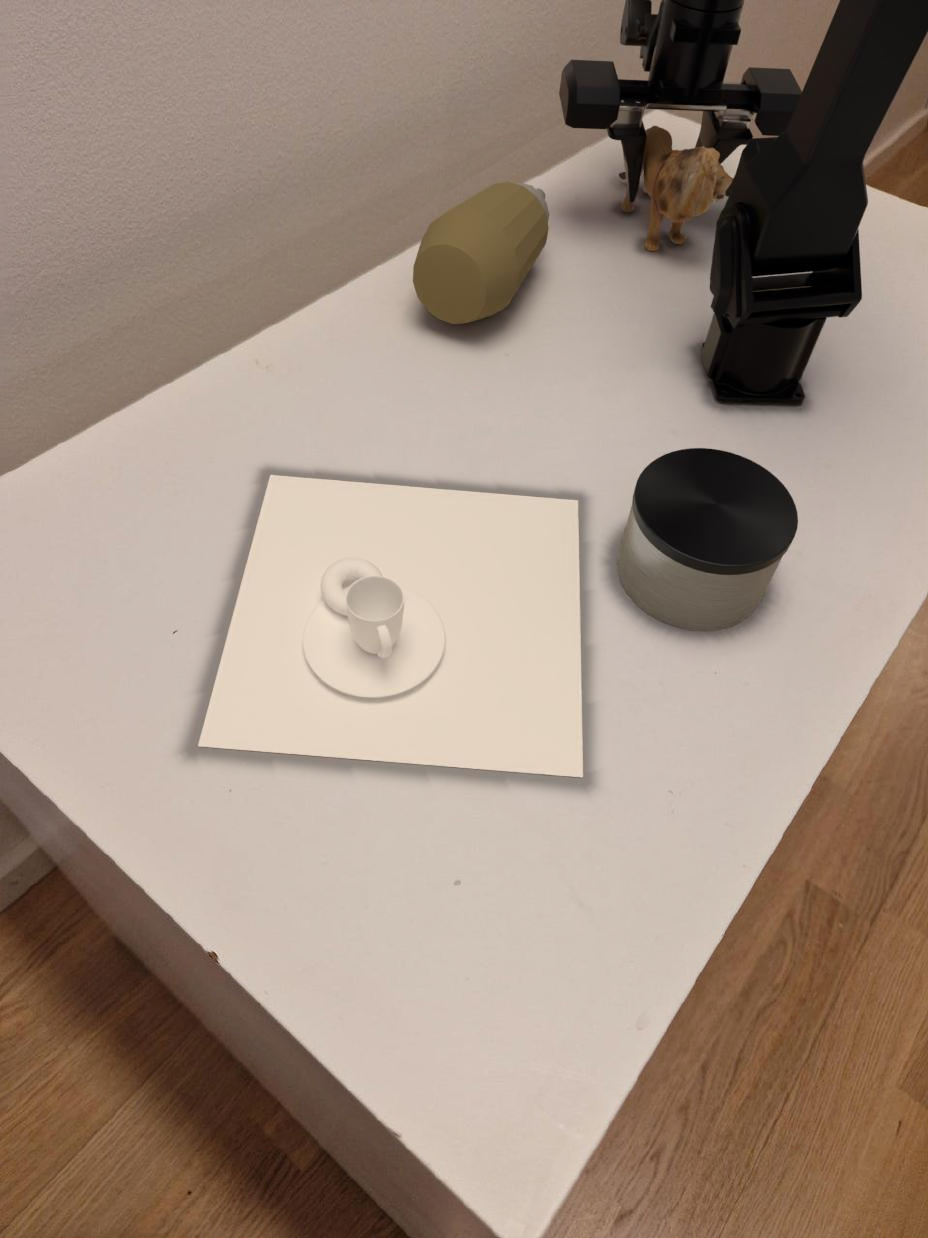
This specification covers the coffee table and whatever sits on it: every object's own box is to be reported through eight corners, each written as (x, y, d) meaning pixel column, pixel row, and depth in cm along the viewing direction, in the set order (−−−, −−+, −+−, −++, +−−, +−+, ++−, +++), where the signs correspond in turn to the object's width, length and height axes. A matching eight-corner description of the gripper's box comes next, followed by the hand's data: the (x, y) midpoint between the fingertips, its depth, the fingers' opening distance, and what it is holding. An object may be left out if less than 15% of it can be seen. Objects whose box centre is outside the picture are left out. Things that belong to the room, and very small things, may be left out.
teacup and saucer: (317, 571, 55) (312, 525, 52) (450, 582, 55) (453, 536, 52) (292, 696, 50) (284, 652, 47) (439, 708, 50) (442, 665, 47)
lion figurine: (721, 264, 77) (750, 157, 70) (664, 275, 76) (688, 167, 69) (643, 177, 86) (662, 72, 78) (590, 185, 84) (605, 80, 77)
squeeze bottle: (481, 358, 69) (564, 260, 81) (514, 263, 63) (599, 171, 74) (387, 307, 70) (483, 217, 81) (411, 208, 63) (511, 125, 75)
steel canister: (747, 518, 60) (776, 448, 55) (780, 633, 55) (817, 567, 50) (606, 516, 59) (624, 445, 55) (626, 632, 54) (648, 565, 49)
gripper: (802, -41, 73) (743, 157, 85) (566, -53, 72) (542, 149, 84) (841, 19, 66) (771, 224, 79) (582, 7, 65) (553, 217, 78)
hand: (657, 200), depth 80 cm, fingers closed on lion figurine, 4 cm apart
